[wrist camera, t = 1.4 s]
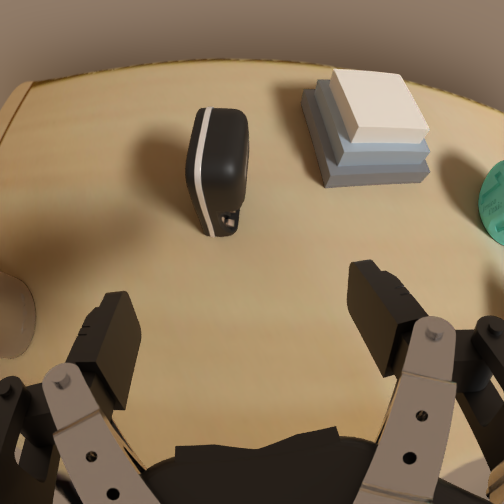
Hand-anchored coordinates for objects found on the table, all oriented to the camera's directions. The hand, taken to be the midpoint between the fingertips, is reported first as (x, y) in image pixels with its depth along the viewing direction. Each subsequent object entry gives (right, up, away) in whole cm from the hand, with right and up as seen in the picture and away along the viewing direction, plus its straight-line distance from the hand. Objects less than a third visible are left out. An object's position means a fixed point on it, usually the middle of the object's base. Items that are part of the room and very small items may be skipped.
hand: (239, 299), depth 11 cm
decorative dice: (+32, +6, +20) cm, 39 cm away
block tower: (+13, +15, +22) cm, 30 cm away
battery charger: (-2, +6, +20) cm, 21 cm away
